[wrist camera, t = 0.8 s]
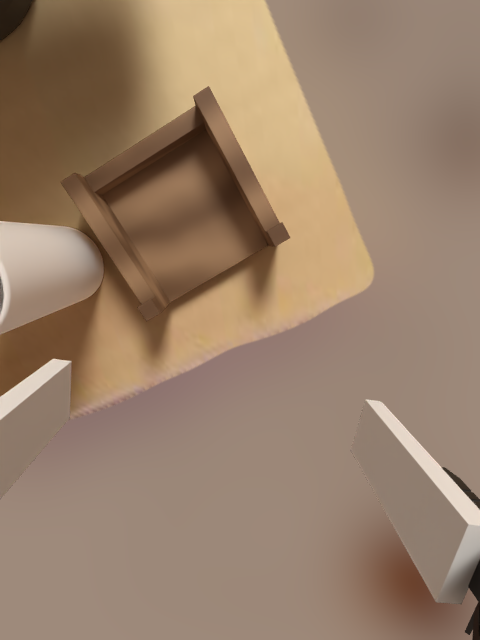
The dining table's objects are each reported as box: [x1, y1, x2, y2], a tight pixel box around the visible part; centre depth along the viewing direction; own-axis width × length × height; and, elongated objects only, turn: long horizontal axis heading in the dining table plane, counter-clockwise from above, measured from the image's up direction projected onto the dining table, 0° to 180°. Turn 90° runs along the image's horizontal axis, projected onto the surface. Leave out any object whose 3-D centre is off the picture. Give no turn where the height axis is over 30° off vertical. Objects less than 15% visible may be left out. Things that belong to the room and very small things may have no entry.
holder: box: [61, 86, 290, 321], centre depth 31 cm, size 14×15×7 cm
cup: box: [0, 221, 104, 335], centre depth 28 cm, size 8×8×16 cm
